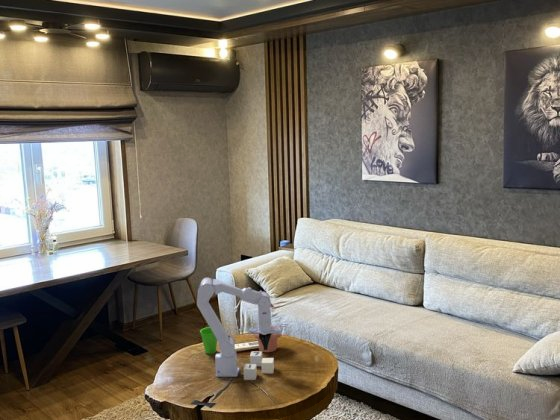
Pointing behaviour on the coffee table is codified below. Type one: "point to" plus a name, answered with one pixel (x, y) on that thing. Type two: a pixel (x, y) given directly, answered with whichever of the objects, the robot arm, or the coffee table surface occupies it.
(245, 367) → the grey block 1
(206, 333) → the cup
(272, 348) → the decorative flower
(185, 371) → the coffee table surface
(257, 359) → the white marked cube 7
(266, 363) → the cream block
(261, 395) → the coffee table surface
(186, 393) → the coffee table surface
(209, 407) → the coffee table surface
